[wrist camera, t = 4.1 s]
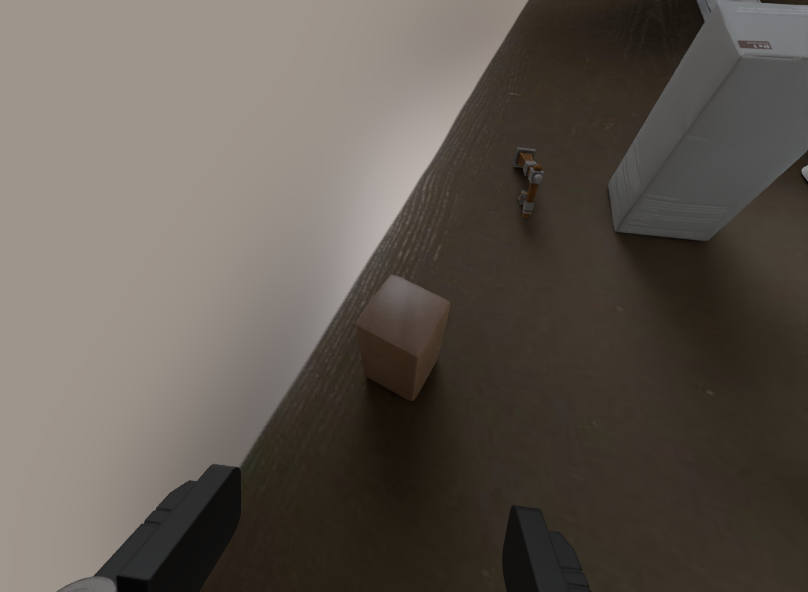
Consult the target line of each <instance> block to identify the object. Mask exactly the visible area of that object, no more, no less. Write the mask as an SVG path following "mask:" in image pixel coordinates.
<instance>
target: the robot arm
mask: <svg viewBox="0 0 808 592" xmlns="http://www.w3.org/2000/svg"><path fill="white" fill-rule="evenodd" d="M240 514H241V471H240V468H238V467H233V466H225V465H217V464H213V465H211V466H210V467H209V468H208V469H207V470H206V471H205V472H204V474H203V475H202V476H201V477H200V478H199V479H198V481H190V480H189V481H188V482H186V483H184V484H183V485H181V486H180V487H178V488H177V489H175V490H174V491H172V492H170V493H169V495H168V496H167V497H166V498H165V499H164V500H163V501H162V502H161V503H160V504H159V506H158V507H157V508H156V510H155V511H153V512H152V513H151V514H150V515H149V516H148V518H147V519H146V520H145V522H144V524H141V525H140V526H139V527H138V528H137V529H136V530H135V532H134V533H133V534H132V535H131V536H130V537H129V538H128V539H127V540H126V541H125V542H124V544H123V545H122V546H121V547H120V548H119V549H118V550H117V551H116V552H115V553H114V554H113V555H112V557H111V558H110V559H109V560H108V561H107V562H106V563H105V564H104V565H103V567H101V569H100V570H99V571H98V572H97V573H96V574H95V575H94V576H93V577H88V578H84V579H81V580H78V581H75V582H73V583H71V584H69V585H67V586H65V587H63V588H62V589H60V590H58V591H57V592H199V591H200V589H201V588H202V586H203V584H204V583H205V581H206V579H207V578H208V576H209V574H210V573H211V571H212V570H213V568H214V566H215V565H216V563H217V561H218V560H219V558H220V556H221V555H222V553H223V551H224V550H225V548H226V546H227V545H228V543H229V542H230V540H231V538H232V537H233V535H234V533H235V531H236V528H237V526H238V523H239V519H240ZM502 563H503V574H504V580H505V585H506V590H507V592H591V590H589V584H588V582H587V580H586V577H585V575H584V573H582V568H581V565H580V563H579V560H578V558H577V555H576V553H575V551H574V549H573V548H572V547H571V545H570V544H569V543H568V542H567V541H566V539H565V538H564V537H563V536H562V534H561V533H560V532H553V531H548V529H547V526H546V523H545V520H544V517H543V515H542V512H541V510H540V509H537V508H529V507H522V506H515V505H513V506H512V507H511V510H510V515H509V520H508V525H507V530H506V536H505V541H504V546H503V556H502Z"/></svg>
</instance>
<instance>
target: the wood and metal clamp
mask: <svg viewBox="0 0 808 592" xmlns="http://www.w3.org/2000/svg"><path fill="white" fill-rule="evenodd" d="M534 155H535V149H525V148H517V149H516V154H515V158H514V163H513V166H514V167H520V168H523V171H524V173H525V176H529V177H528V179H529V189H528V191H525V190H520V194H519V198H518V200H520V201H519V204H522V205H523V208H524V209H523V213H522V217H523V218H530V214H531V211H532V210H533V206H534V198H535V194H536V190H537V186H538V184H542V180H543V176H544V172H543V171H542V167H541V165H538V164H536V162H533V158H534Z"/></svg>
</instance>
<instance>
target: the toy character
mask: <svg viewBox="0 0 808 592" xmlns="http://www.w3.org/2000/svg"><path fill="white" fill-rule="evenodd" d="M802 174H803V176H804V177H805V179H806V180H807V181H808V165H807V166H806V167H804V168H803V169H802Z"/></svg>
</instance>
